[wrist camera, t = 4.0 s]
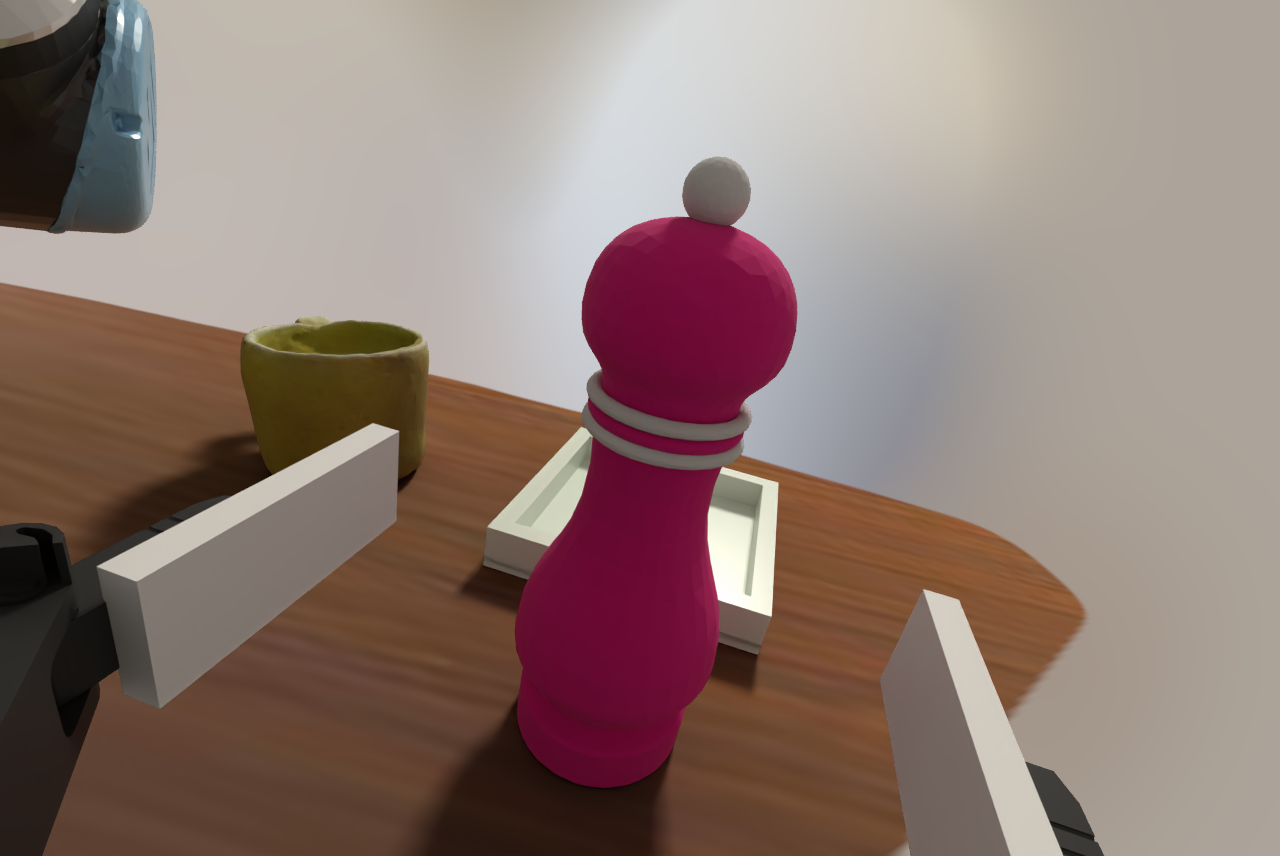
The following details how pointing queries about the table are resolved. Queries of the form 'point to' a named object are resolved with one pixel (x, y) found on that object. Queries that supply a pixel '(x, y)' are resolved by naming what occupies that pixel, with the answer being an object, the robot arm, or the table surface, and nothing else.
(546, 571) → the pepper mill
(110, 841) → the table surface
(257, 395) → the mug
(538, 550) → the tray
